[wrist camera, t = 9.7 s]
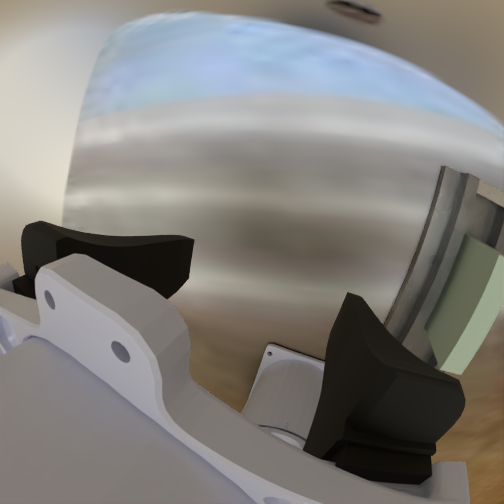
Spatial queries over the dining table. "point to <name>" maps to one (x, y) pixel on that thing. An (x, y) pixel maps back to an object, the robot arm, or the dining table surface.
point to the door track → (444, 253)
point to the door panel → (466, 305)
